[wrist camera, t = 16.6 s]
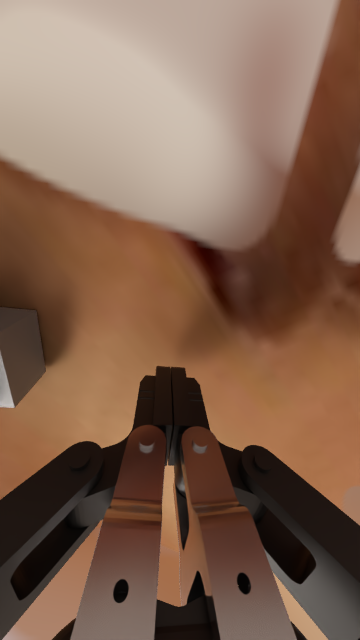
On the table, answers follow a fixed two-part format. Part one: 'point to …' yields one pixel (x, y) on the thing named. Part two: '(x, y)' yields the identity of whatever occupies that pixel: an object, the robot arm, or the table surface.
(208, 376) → the table surface
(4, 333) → the cap
